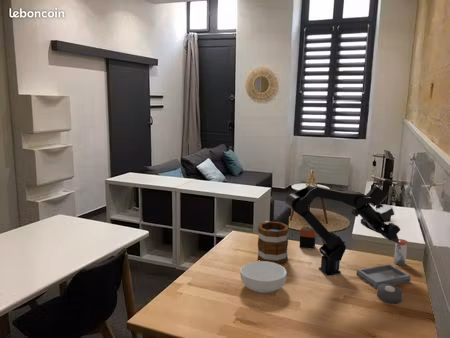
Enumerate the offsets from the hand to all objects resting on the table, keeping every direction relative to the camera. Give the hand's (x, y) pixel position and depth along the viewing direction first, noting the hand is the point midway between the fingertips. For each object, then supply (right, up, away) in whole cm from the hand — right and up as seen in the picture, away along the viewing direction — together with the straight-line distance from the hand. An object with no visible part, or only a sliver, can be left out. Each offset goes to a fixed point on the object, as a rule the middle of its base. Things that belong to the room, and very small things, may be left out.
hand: (390, 237), depth 153 cm
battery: (-30, -8, +21) cm, 38 cm away
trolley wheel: (-11, -17, -23) cm, 31 cm away
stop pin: (+5, -11, +4) cm, 13 cm away
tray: (-7, -14, -10) cm, 19 cm away
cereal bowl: (-55, -16, -16) cm, 59 cm away
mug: (-48, -10, +11) cm, 51 cm away
